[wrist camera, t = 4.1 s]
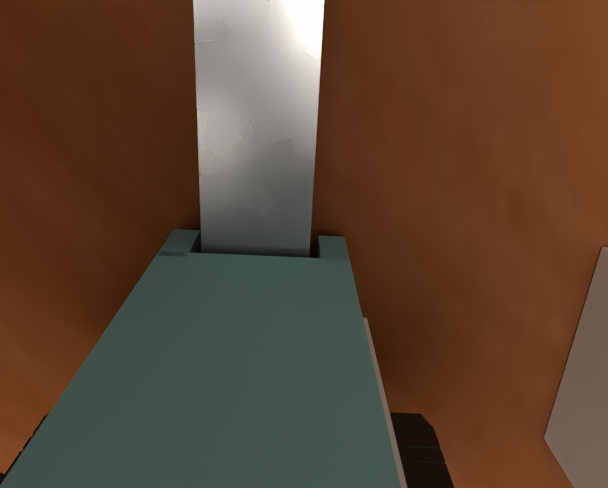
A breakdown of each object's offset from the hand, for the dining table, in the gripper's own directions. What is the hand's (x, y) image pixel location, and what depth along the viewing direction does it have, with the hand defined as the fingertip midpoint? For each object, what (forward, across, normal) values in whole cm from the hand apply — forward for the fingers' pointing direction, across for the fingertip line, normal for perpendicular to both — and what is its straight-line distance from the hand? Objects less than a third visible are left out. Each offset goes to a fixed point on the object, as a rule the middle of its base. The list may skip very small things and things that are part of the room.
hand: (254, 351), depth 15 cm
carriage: (+2, 0, 0) cm, 2 cm away
